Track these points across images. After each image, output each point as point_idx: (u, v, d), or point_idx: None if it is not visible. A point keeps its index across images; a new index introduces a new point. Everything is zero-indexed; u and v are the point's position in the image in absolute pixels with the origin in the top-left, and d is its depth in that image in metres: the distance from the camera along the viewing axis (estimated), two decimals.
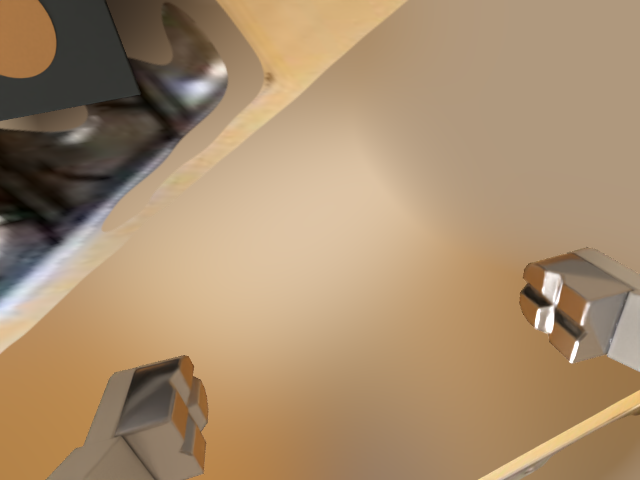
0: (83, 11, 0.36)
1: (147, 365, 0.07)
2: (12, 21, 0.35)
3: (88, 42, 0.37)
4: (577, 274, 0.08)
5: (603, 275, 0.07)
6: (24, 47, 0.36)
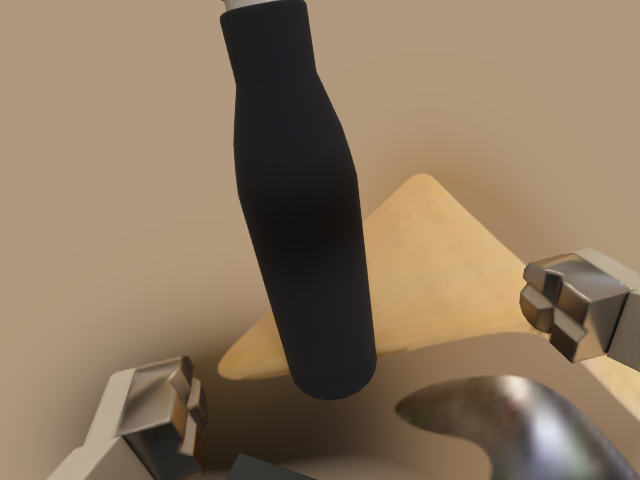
0: None
1: (147, 365, 0.07)
2: None
3: None
4: (577, 274, 0.08)
5: (603, 275, 0.07)
6: None
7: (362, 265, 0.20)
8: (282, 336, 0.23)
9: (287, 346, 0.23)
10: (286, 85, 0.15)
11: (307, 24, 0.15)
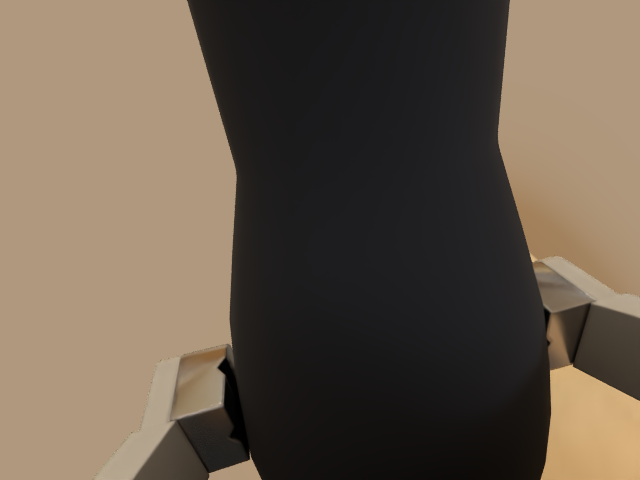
0: None
1: (192, 352, 0.07)
2: None
3: None
4: (542, 284, 0.07)
5: (567, 285, 0.07)
6: None
7: None
8: None
9: None
10: (429, 201, 0.04)
11: None
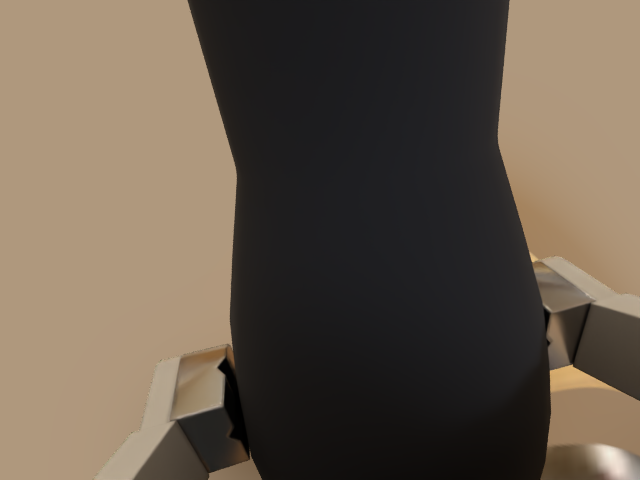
0: None
1: (192, 353, 0.07)
2: None
3: None
4: (542, 284, 0.07)
5: (567, 285, 0.07)
6: None
7: None
8: None
9: None
10: (429, 200, 0.04)
11: None
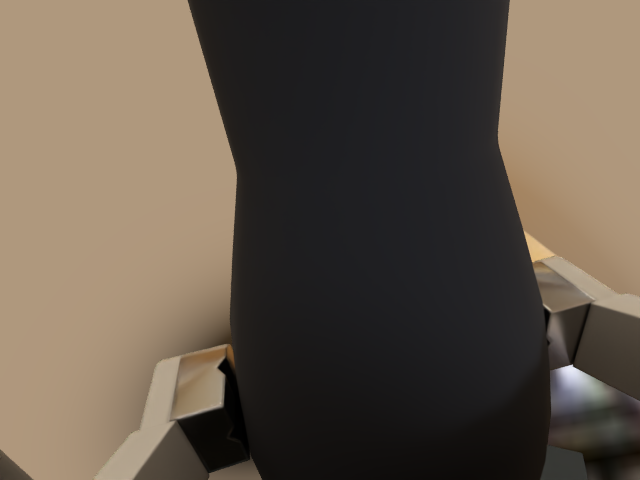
0: None
1: (192, 353, 0.07)
2: None
3: None
4: (542, 284, 0.07)
5: (567, 285, 0.07)
6: None
7: None
8: None
9: None
10: (429, 199, 0.04)
11: None
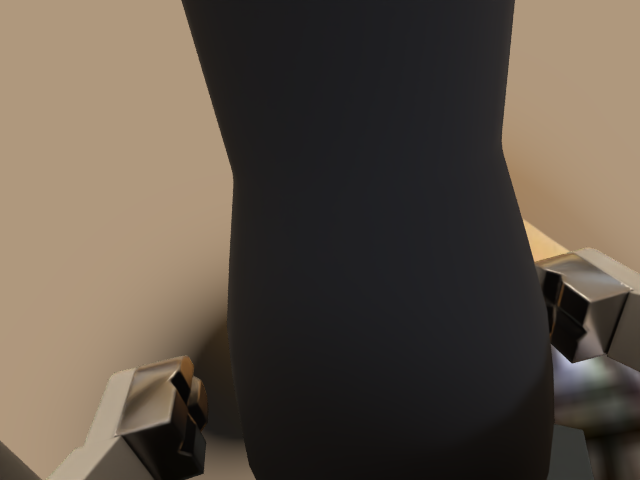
0: None
1: (147, 364, 0.07)
2: None
3: None
4: (577, 274, 0.08)
5: (603, 275, 0.07)
6: None
7: None
8: None
9: None
10: (430, 208, 0.04)
11: None
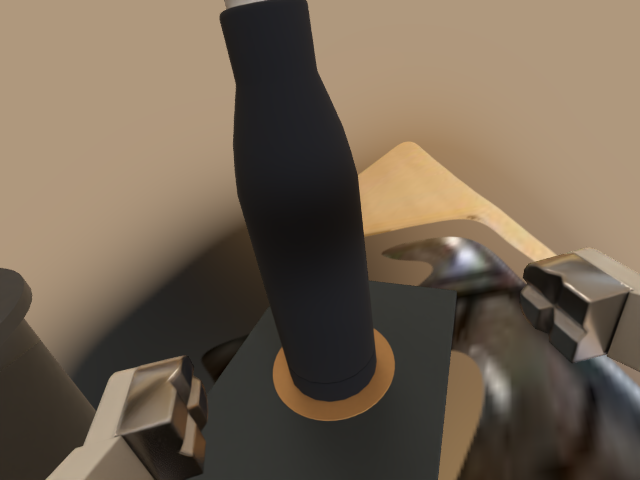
0: None
1: (147, 365, 0.07)
2: None
3: (385, 304, 0.31)
4: (577, 274, 0.08)
5: (603, 275, 0.07)
6: None
7: (362, 266, 0.20)
8: (282, 337, 0.23)
9: (287, 347, 0.23)
10: (286, 85, 0.15)
11: (308, 23, 0.15)
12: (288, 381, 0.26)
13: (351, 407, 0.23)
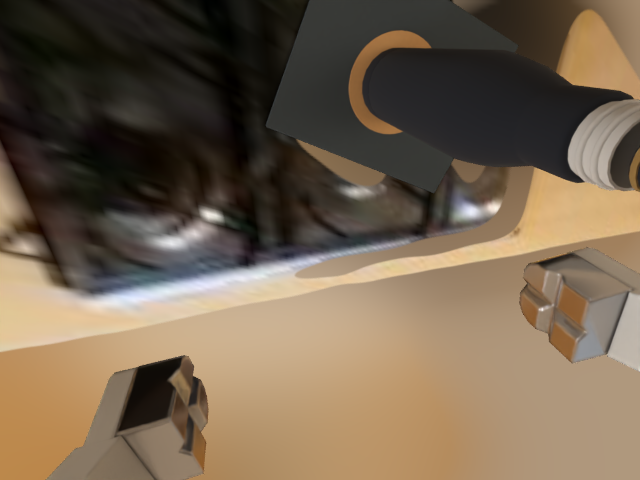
0: None
1: (147, 365, 0.07)
2: None
3: None
4: (577, 274, 0.08)
5: (603, 275, 0.07)
6: None
7: (419, 139, 0.27)
8: (401, 55, 0.28)
9: (394, 57, 0.29)
10: (510, 138, 0.17)
11: (558, 176, 0.16)
12: (386, 46, 0.32)
13: (356, 97, 0.34)
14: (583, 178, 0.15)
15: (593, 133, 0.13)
